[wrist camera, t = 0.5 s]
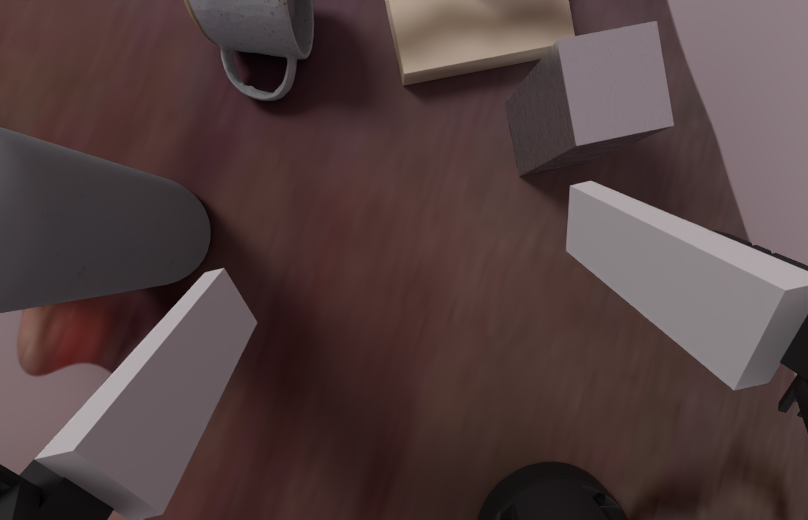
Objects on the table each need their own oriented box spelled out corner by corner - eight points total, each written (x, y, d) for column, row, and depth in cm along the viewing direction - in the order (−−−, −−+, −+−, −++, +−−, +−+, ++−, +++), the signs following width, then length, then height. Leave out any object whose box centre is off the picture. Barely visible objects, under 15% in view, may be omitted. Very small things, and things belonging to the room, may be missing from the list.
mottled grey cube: (588, 161, 30) (673, 125, 21) (519, 176, 30) (576, 146, 21) (575, 88, 30) (656, 21, 21) (504, 102, 30) (556, 39, 21)
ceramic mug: (224, -17, 28) (162, -116, 20) (315, -9, 28) (289, -102, 20) (223, 103, 28) (162, 51, 21) (312, 109, 29) (285, 61, 21)
